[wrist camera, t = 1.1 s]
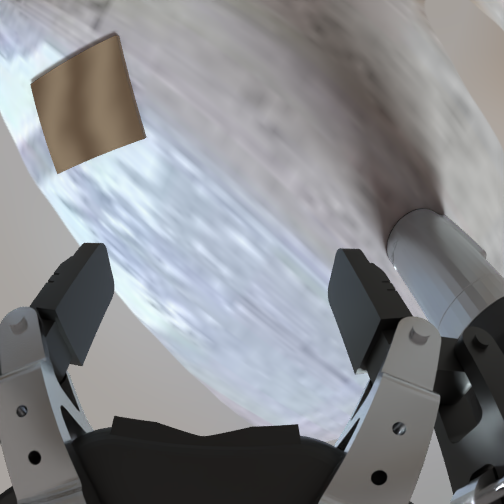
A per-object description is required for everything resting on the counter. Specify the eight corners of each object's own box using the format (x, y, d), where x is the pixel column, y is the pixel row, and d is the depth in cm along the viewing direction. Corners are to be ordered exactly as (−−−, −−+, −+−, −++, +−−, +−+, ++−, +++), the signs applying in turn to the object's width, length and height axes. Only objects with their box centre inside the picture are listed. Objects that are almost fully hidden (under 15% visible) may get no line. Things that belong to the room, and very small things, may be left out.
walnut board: (119, 36, 21) (116, 35, 20) (146, 137, 27) (144, 138, 27) (34, 83, 22) (30, 84, 22) (60, 171, 28) (57, 174, 28)
